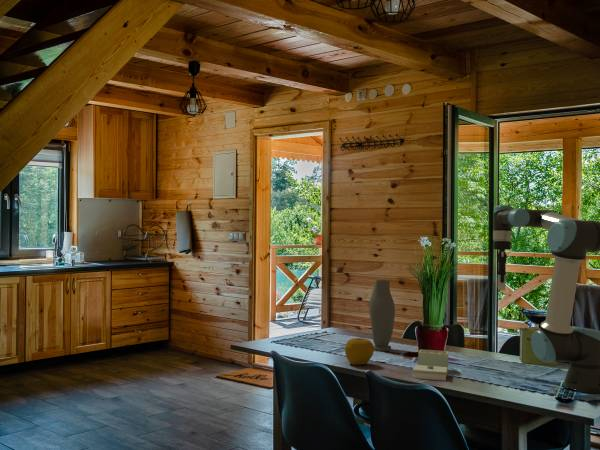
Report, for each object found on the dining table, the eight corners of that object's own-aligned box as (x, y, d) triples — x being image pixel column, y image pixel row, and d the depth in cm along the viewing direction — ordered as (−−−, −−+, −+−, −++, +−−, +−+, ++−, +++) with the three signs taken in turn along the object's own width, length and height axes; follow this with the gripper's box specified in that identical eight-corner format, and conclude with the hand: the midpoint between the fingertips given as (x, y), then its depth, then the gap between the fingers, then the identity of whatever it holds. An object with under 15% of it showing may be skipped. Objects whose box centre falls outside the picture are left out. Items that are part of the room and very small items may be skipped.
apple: (375, 362, 286) (376, 337, 286) (371, 368, 273) (371, 341, 274) (347, 360, 289) (348, 335, 289) (341, 365, 277) (342, 339, 277)
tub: (448, 368, 275) (448, 351, 276) (447, 372, 268) (447, 354, 268) (419, 366, 279) (420, 349, 279) (418, 370, 271) (418, 352, 271)
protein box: (557, 365, 290) (558, 331, 290) (522, 363, 293) (522, 329, 293) (553, 361, 300) (553, 328, 300) (519, 359, 303) (519, 326, 303)
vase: (394, 352, 315) (395, 280, 316) (367, 350, 317) (369, 280, 318) (394, 348, 328) (395, 279, 329) (369, 347, 330) (370, 279, 331)
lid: (447, 375, 262) (447, 365, 262) (445, 381, 252) (446, 370, 252) (415, 373, 266) (415, 362, 266) (412, 378, 256) (412, 367, 256)
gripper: (512, 240, 266) (511, 291, 266) (509, 241, 290) (508, 287, 290) (493, 240, 268) (493, 290, 268) (492, 240, 292) (491, 287, 292)
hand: (501, 289), depth 279 cm, fingers open, 13 cm apart
